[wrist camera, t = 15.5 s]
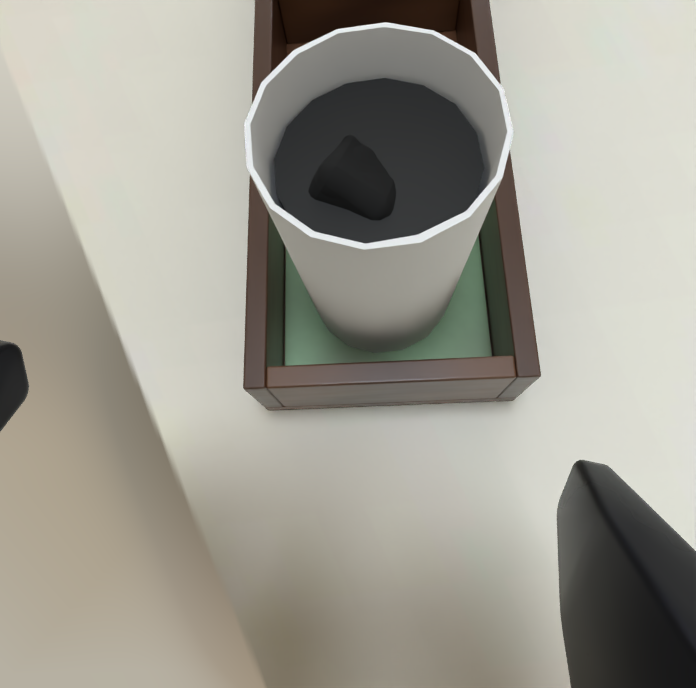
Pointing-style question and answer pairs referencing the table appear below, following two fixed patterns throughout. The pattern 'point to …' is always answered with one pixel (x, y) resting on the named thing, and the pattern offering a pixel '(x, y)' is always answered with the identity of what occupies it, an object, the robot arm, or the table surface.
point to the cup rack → (468, 297)
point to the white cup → (379, 173)
